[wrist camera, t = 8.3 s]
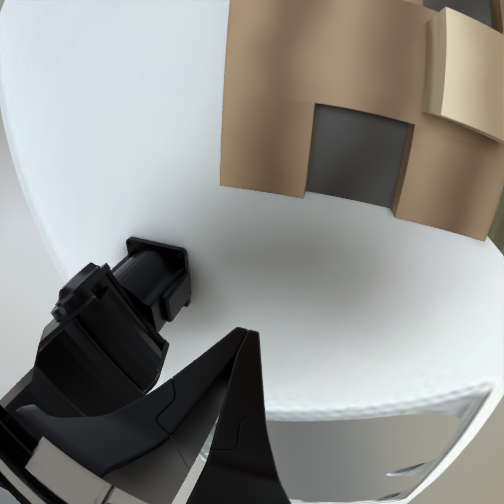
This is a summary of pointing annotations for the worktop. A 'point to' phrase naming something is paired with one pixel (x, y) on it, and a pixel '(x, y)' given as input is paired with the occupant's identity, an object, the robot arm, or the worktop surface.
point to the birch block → (464, 73)
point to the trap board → (354, 111)
